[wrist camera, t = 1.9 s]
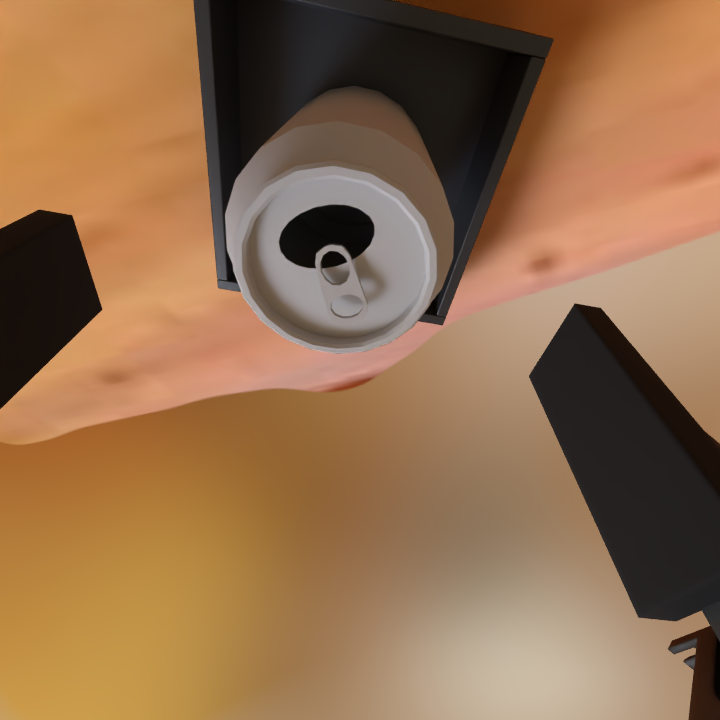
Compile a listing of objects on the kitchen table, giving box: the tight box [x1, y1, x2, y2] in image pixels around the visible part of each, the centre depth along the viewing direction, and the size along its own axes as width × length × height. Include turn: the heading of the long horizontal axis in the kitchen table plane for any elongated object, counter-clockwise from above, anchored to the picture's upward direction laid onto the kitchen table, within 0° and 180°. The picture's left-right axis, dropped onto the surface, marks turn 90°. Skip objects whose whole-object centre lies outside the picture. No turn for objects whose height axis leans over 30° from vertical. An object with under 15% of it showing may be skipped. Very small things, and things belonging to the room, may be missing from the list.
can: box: [225, 86, 454, 354], centre depth 16 cm, size 8×8×12 cm
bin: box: [194, 0, 553, 325], centre depth 19 cm, size 13×13×4 cm
